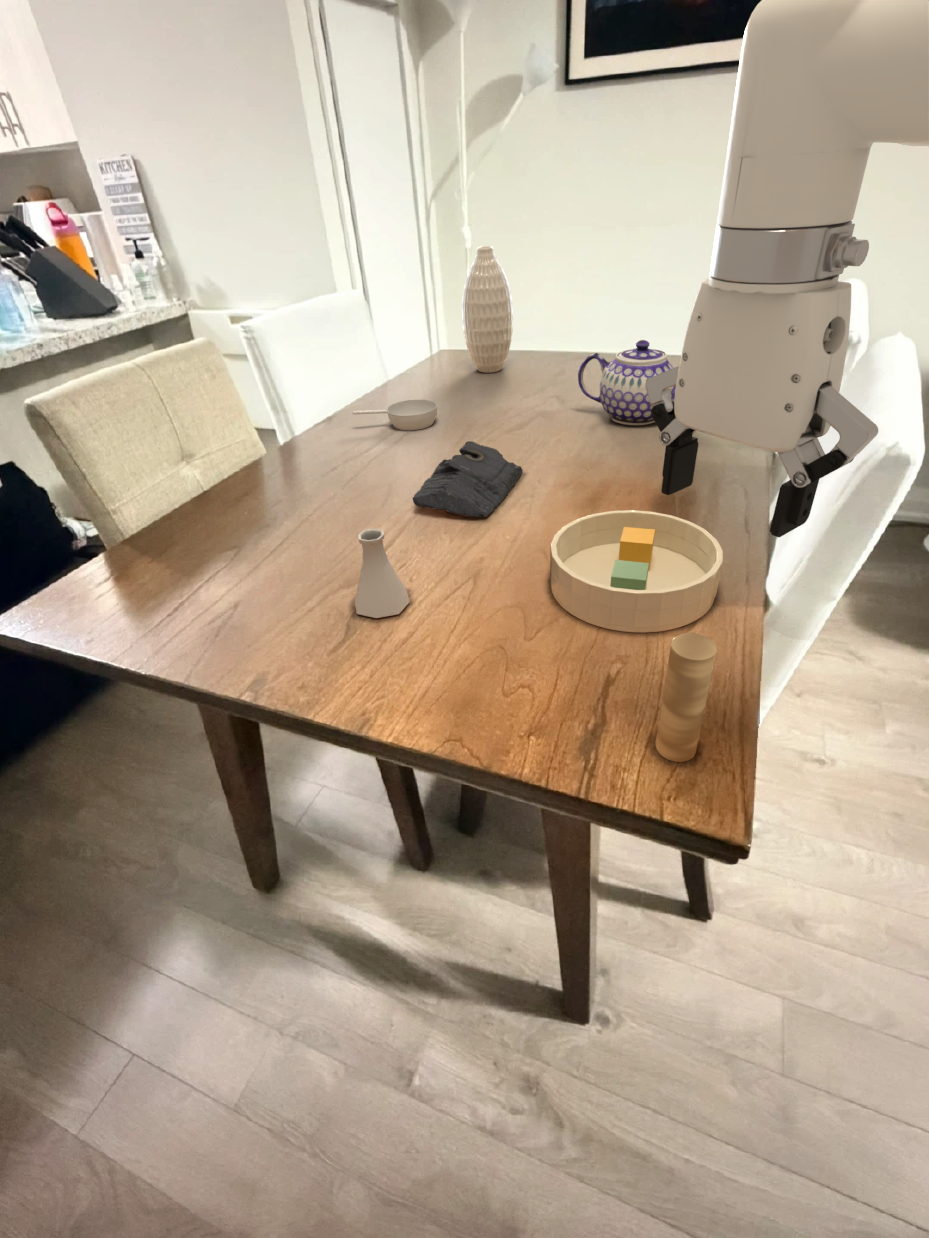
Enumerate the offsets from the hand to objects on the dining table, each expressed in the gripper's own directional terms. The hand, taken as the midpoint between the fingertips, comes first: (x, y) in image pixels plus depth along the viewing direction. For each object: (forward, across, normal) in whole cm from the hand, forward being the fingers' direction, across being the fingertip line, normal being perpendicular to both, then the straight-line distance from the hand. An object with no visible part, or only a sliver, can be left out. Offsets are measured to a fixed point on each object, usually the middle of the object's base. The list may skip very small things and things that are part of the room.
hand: (727, 508), depth 50 cm
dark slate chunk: (+23, +58, -16) cm, 64 cm away
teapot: (+22, +62, -62) cm, 91 cm away
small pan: (+23, +95, -25) cm, 101 cm away
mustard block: (+22, +22, -18) cm, 36 cm away
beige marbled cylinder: (+22, -2, +4) cm, 23 cm away
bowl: (+22, +20, -14) cm, 33 cm away
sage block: (+22, +17, -10) cm, 29 cm away
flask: (+23, +38, +13) cm, 46 cm away
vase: (+23, +114, -66) cm, 133 cm away
